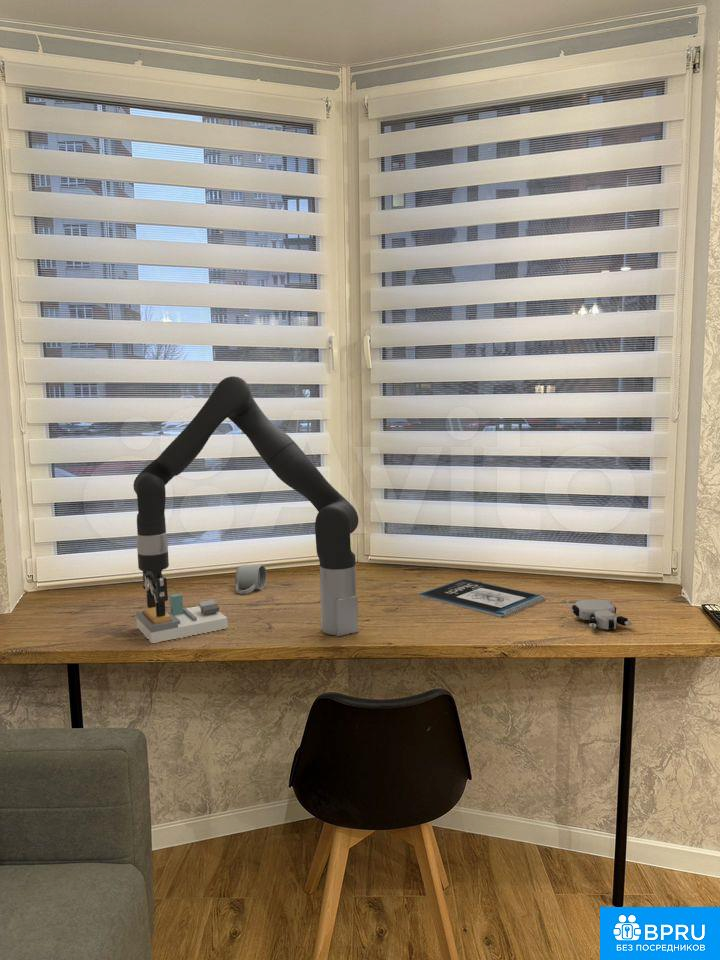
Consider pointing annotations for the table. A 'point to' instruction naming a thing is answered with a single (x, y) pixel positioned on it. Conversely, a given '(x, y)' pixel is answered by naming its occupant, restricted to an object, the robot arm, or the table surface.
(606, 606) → the robot toy
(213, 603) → the rocker switch
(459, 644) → the table surface
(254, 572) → the ceramic mug
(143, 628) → the switch panel
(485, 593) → the sketchbook
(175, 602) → the slide switch
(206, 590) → the table surface
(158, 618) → the paddle button
